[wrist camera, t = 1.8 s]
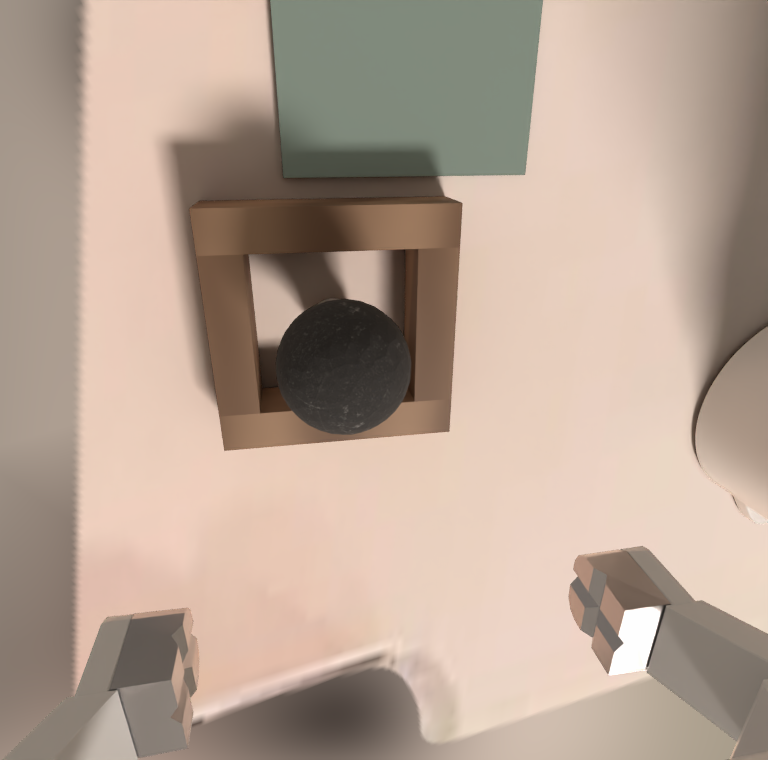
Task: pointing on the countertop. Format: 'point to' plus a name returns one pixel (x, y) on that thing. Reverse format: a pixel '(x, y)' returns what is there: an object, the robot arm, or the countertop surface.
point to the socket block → (326, 234)
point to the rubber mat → (405, 86)
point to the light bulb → (343, 366)
